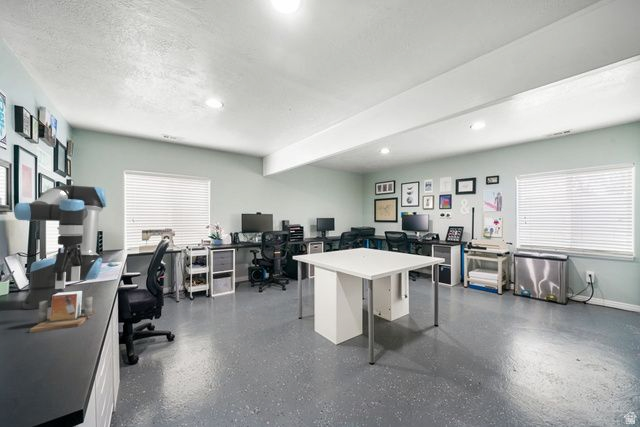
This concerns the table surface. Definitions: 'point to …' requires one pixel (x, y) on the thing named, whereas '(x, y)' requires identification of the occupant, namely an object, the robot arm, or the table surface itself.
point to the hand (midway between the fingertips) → (68, 284)
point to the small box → (66, 305)
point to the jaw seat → (60, 324)
